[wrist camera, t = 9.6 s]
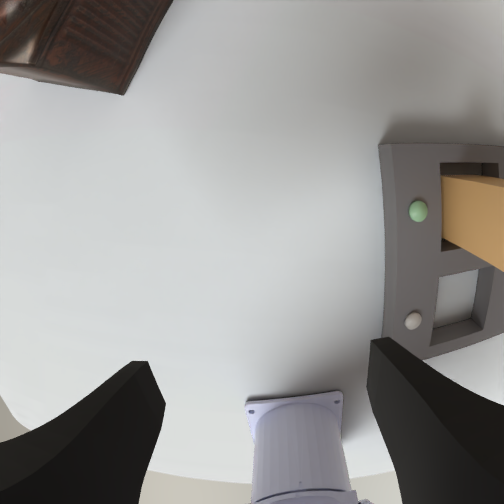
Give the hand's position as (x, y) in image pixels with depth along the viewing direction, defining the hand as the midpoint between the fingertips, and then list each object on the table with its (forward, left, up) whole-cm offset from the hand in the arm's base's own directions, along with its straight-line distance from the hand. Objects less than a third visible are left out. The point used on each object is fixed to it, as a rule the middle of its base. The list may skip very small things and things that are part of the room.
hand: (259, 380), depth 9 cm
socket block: (-1, -14, -10) cm, 17 cm away
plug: (+3, -14, -10) cm, 18 cm away
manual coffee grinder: (+21, +11, -11) cm, 26 cm away
